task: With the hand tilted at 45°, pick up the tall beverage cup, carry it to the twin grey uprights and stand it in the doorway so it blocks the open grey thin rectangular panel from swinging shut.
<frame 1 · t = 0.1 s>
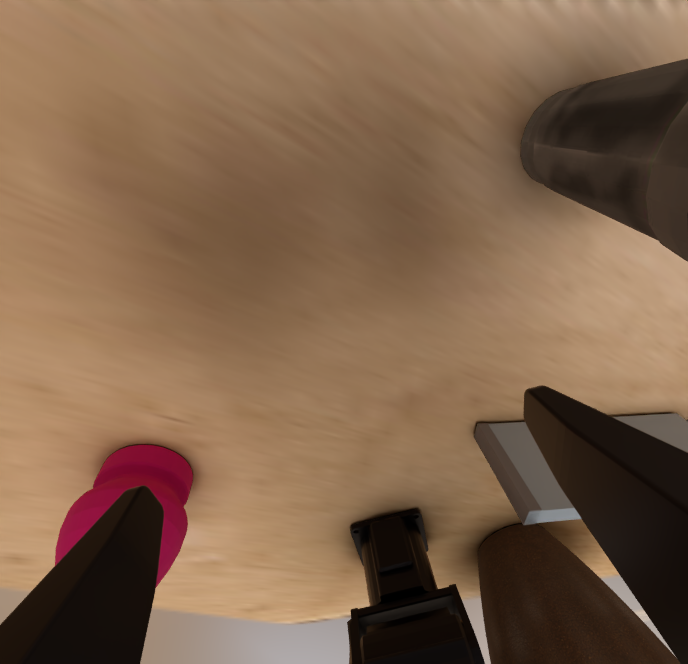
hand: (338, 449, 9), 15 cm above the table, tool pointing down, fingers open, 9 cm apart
grey thin rectangular panel: (611, 460, 28), point 4 cm above the table, hinge at 75.0°
plant pot: (512, 543, 39), on the table
pepper mill: (150, 471, 29), on the table
beverage cup: (559, 139, 20), on the table
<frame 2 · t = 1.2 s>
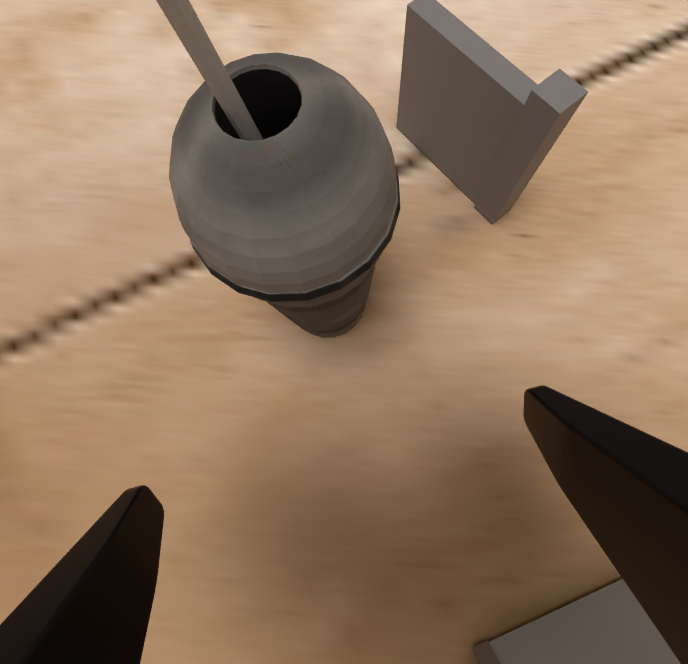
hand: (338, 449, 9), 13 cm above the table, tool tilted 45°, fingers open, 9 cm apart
beverage cup: (328, 303, 24), on the table
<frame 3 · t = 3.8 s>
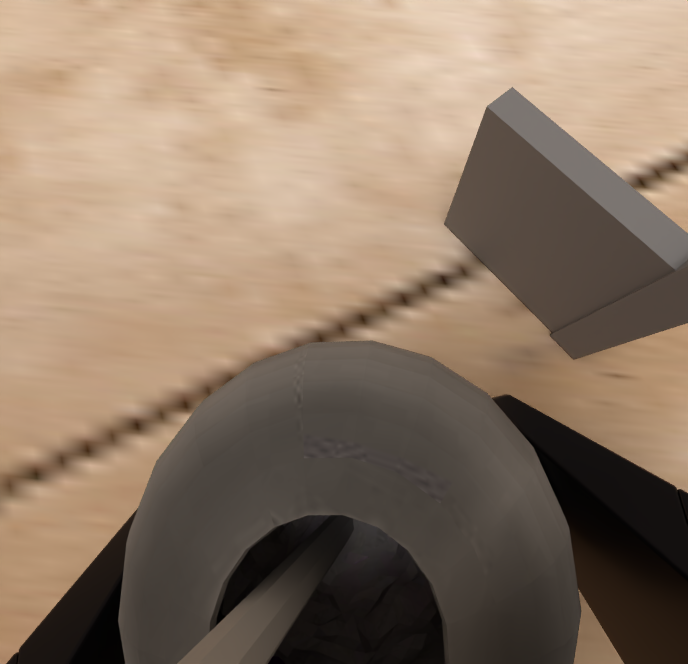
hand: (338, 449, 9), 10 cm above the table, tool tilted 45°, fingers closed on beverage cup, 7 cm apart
beverage cup: (363, 464, 19), on the table, touching gripper
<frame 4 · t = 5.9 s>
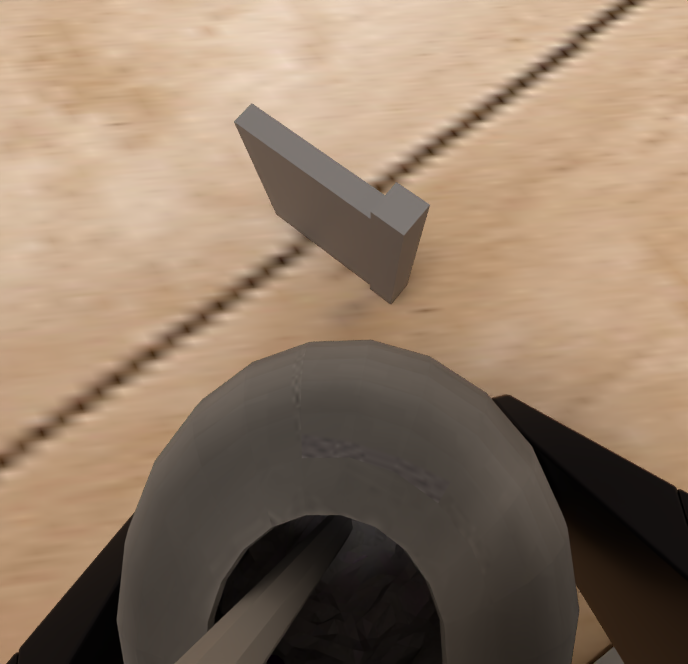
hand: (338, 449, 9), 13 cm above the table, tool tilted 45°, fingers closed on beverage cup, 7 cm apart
beverage cup: (362, 463, 19), point 3 cm above the table, touching gripper
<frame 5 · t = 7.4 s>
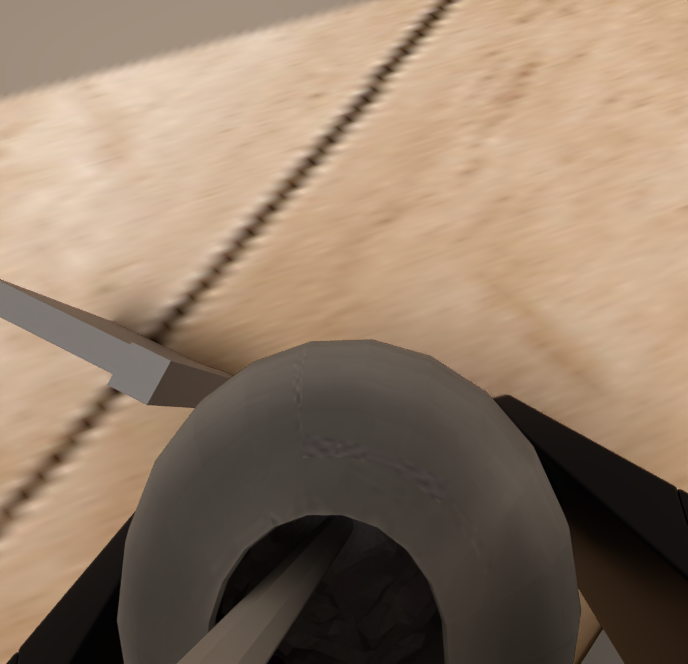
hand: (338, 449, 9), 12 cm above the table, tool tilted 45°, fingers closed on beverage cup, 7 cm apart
beverage cup: (362, 463, 19), point 2 cm above the table, touching gripper
twin grey uprights: (640, 589, 18), on the table
when the fingers open (11 cm above the table, at t = 8.1 s): beverage cup drops 1 cm, on the table.
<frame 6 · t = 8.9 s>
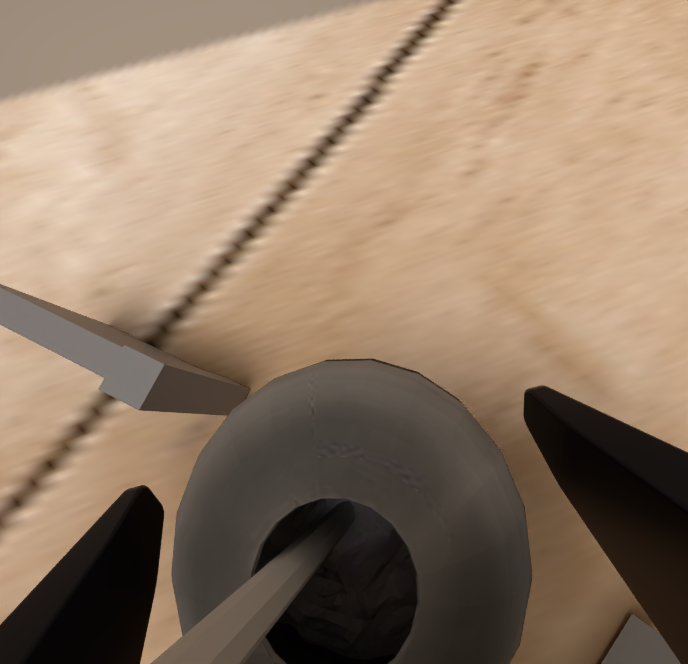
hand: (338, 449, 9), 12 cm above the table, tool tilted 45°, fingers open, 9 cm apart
beverage cup: (365, 464, 20), on the table
twin grey uprights: (652, 602, 17), on the table
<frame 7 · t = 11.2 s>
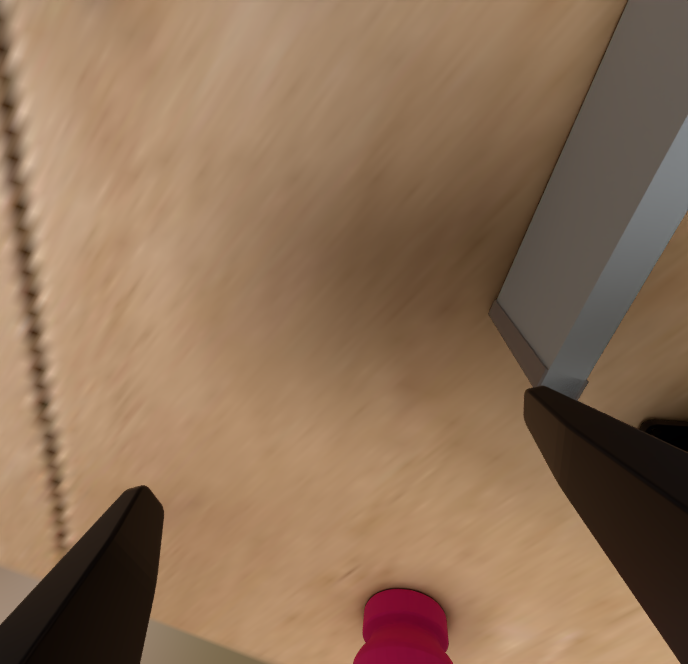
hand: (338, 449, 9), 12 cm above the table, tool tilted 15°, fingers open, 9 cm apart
grey thin rectangular panel: (637, 118, 12), point 4 cm above the table, hinge at 75.0°
pepper mill: (404, 612, 30), on the table
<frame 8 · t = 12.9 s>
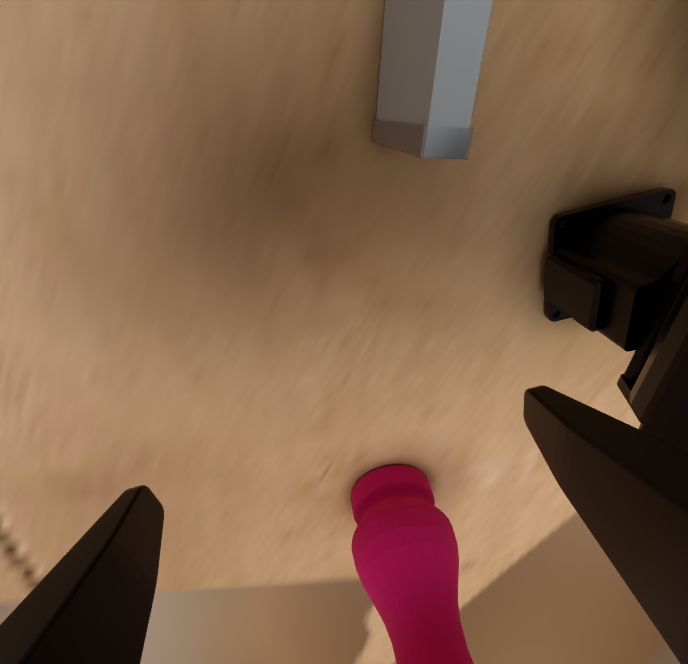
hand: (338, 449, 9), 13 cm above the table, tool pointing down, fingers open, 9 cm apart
pepper mill: (389, 488, 30), on the table
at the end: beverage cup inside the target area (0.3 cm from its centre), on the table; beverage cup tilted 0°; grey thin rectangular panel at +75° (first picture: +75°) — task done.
